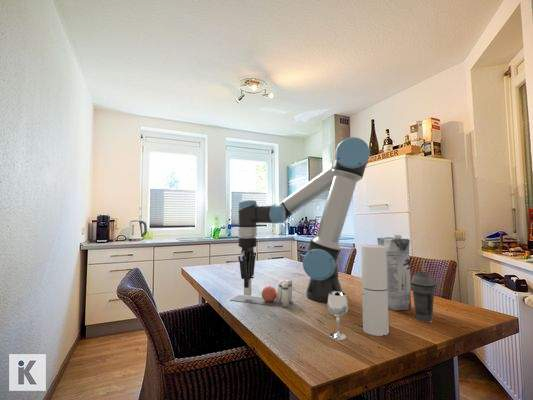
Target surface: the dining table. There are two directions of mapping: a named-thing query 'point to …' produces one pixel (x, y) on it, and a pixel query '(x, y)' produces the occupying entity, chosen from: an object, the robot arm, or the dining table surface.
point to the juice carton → (397, 272)
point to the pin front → (279, 292)
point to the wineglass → (337, 310)
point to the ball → (269, 294)
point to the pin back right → (289, 290)
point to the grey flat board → (256, 300)
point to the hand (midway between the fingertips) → (247, 294)
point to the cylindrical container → (374, 289)
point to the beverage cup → (423, 295)
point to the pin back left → (285, 294)
